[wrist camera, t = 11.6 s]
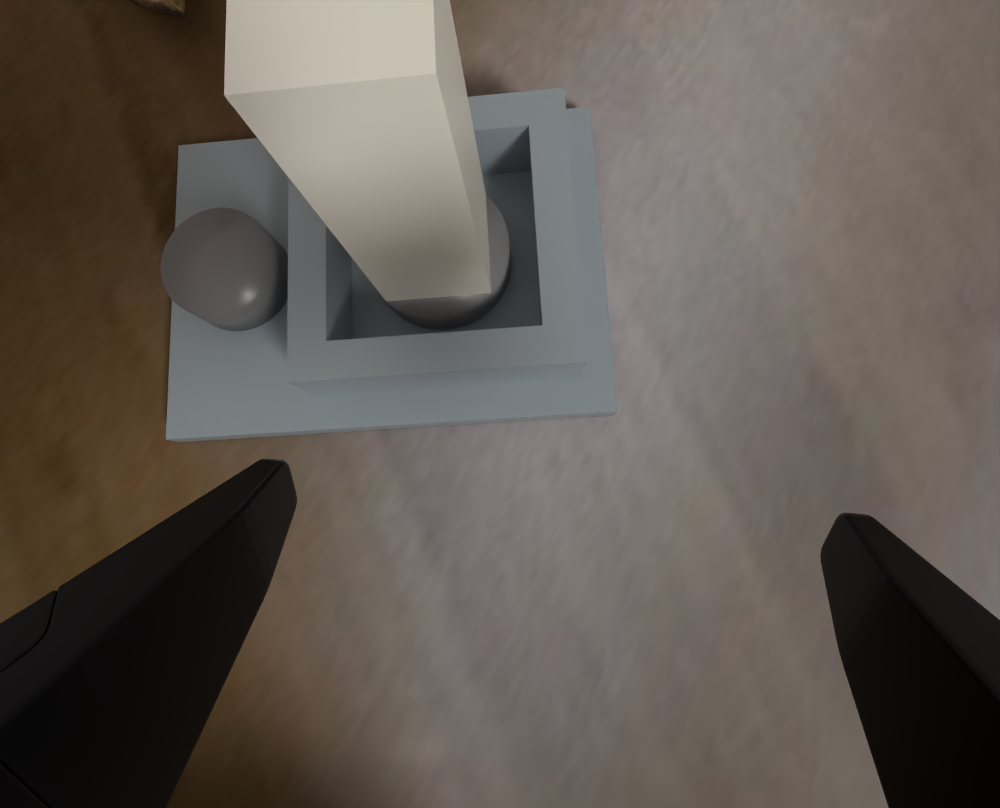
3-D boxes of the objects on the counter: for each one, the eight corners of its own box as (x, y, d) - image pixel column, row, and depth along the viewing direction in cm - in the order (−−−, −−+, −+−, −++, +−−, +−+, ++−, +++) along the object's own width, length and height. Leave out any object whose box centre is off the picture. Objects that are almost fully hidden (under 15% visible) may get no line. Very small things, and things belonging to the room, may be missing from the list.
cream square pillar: (516, 324, 23) (482, 108, 10) (377, 335, 24) (180, 137, 11) (507, 194, 24) (467, -149, 11) (374, 206, 25) (191, -115, 12)
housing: (614, 414, 23) (628, 397, 19) (181, 441, 24) (111, 430, 21) (588, 121, 26) (597, 53, 22) (191, 158, 27) (131, 99, 23)
